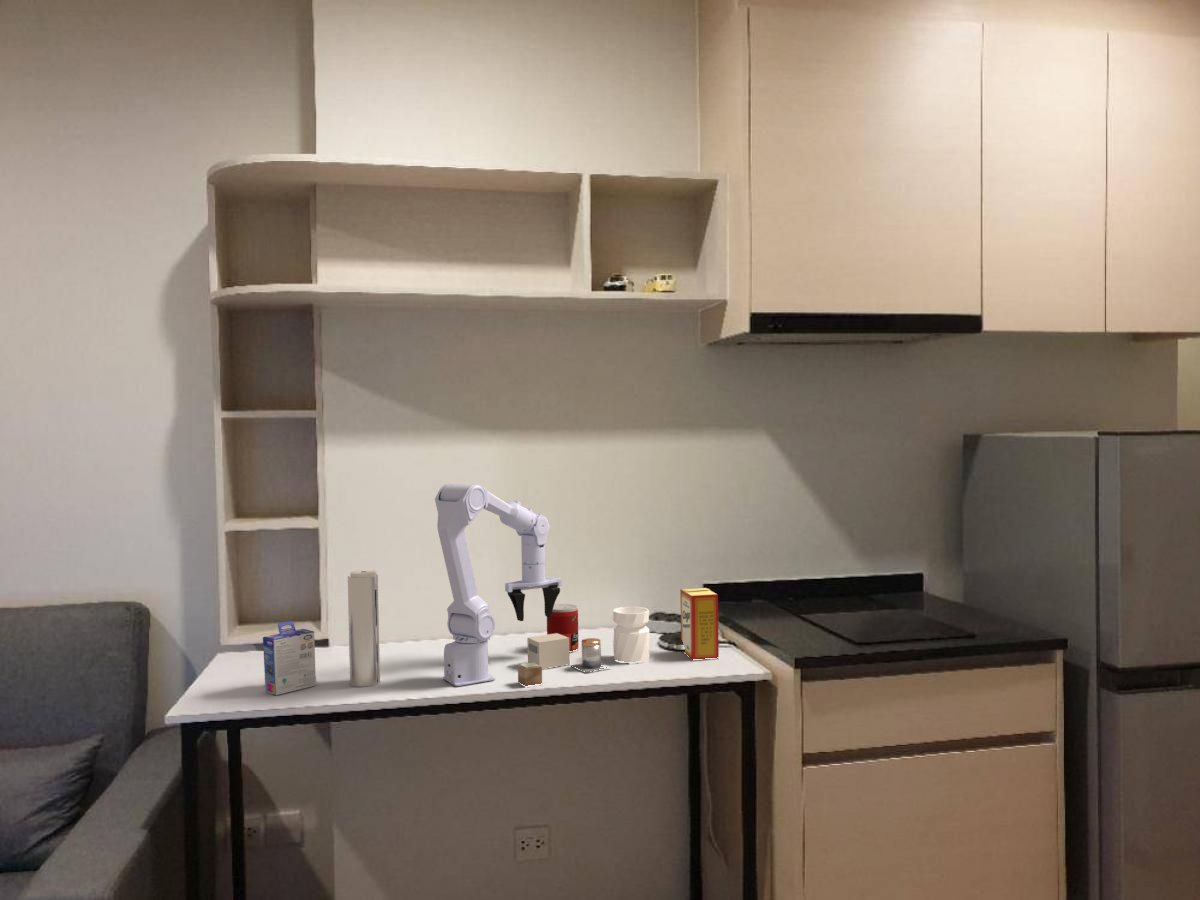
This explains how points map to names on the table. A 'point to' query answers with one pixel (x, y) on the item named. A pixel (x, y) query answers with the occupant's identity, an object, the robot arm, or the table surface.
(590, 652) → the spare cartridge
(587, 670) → the pad
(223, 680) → the table surface
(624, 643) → the white faceted vase
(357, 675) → the beige tall cylinder
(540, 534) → the robot arm
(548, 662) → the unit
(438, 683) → the table surface
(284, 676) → the ink cartridge box
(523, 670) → the walnut block
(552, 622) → the canned food
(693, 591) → the red and yellow box
